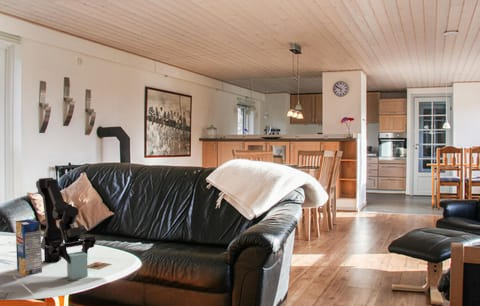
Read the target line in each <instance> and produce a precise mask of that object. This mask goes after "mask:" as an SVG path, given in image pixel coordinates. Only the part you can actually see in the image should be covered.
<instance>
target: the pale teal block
mask: <svg viewBox="0 0 480 306" xmlns="http://www.w3.org/2000/svg"><path fill="white" fill-rule="evenodd" d="M68 255H69V258H70V261H71V263H70V264H69V263H68V262H67V261H66V271H67V277H68V278H69V279H70V280H78V279H81V278H86V277H88V275H89V274H88V272H89V268H88V267H87V265H88V254H87V253H85V252H83V251H82V250H80V251H75V252H68Z"/></svg>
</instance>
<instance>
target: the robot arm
mask: <svg viewBox="0 0 480 306" xmlns="http://www.w3.org/2000/svg"><path fill="white" fill-rule="evenodd" d="M35 187H36V189H37V192H38V194H39V195H40V196H41V198H42V205H43V213H44V220H45V221H44V222H45V227H46V228H45V229H44V232H43V236H42V238H41V250H43V252H44V260H42V263H58V262H59V261H61V260H62V259H63V260H65V261H66V263H67V262H68V263H69V264H70V263H71V261H70V258H69V255H68V254H69V252H68V250H67V249H68V248H73V247H75V248H76V247H79V246H80V247H82V248H81V251H83V252H85V253H87V255H88V251H89V249H92V248H94V247H95V245H96V242H97V237H96V236H95V235H87V236H85V237H84V239H83V240H81V238H82V237H81V236H82V235H83V234H85V233H86V231H87V229H86V226H85V225H84V224H83V225H82V224H81V225H80V226H75V223H76V221H77V218H78V216H79V212H80V211H79V208H77V207H76V206H73V204H72V203H70V204H69V202H67V201H65V200H64V196H63V193H62V191H61V189H60V185H59V181H58V179H56V178H53V177H41V178H38V180H36V182H35ZM57 221H59V222H58V225H57Z"/></svg>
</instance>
